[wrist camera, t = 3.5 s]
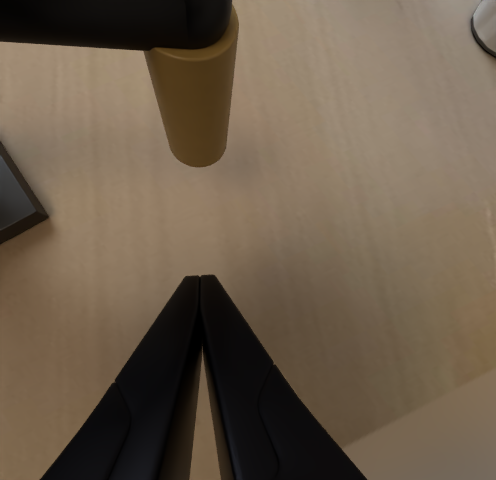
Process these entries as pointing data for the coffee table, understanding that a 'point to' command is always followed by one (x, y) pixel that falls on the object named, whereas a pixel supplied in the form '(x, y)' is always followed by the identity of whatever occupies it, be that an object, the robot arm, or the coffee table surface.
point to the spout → (152, 56)
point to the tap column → (16, 200)
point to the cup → (485, 25)
